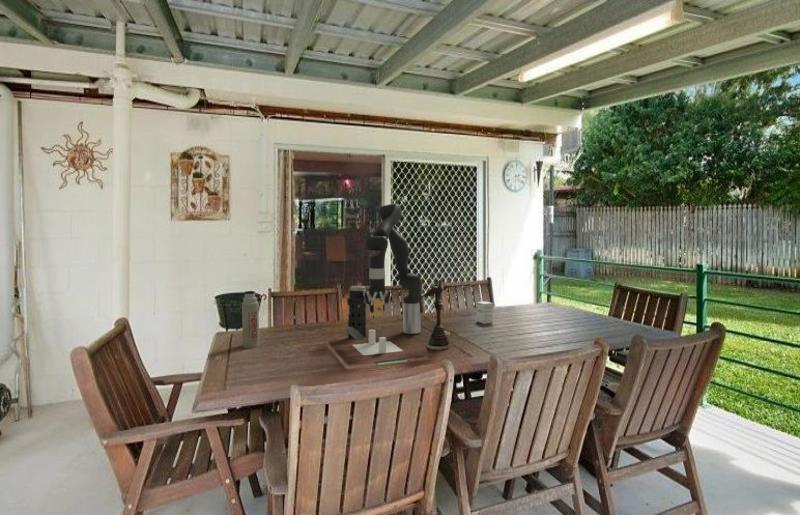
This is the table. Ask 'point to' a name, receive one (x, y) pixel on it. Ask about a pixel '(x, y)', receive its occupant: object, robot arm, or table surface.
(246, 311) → the thermos bottle
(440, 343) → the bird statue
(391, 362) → the mat
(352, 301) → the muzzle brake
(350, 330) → the strap
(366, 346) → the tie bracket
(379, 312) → the orange block
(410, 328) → the robot arm
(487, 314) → the grey cylindrical canister
